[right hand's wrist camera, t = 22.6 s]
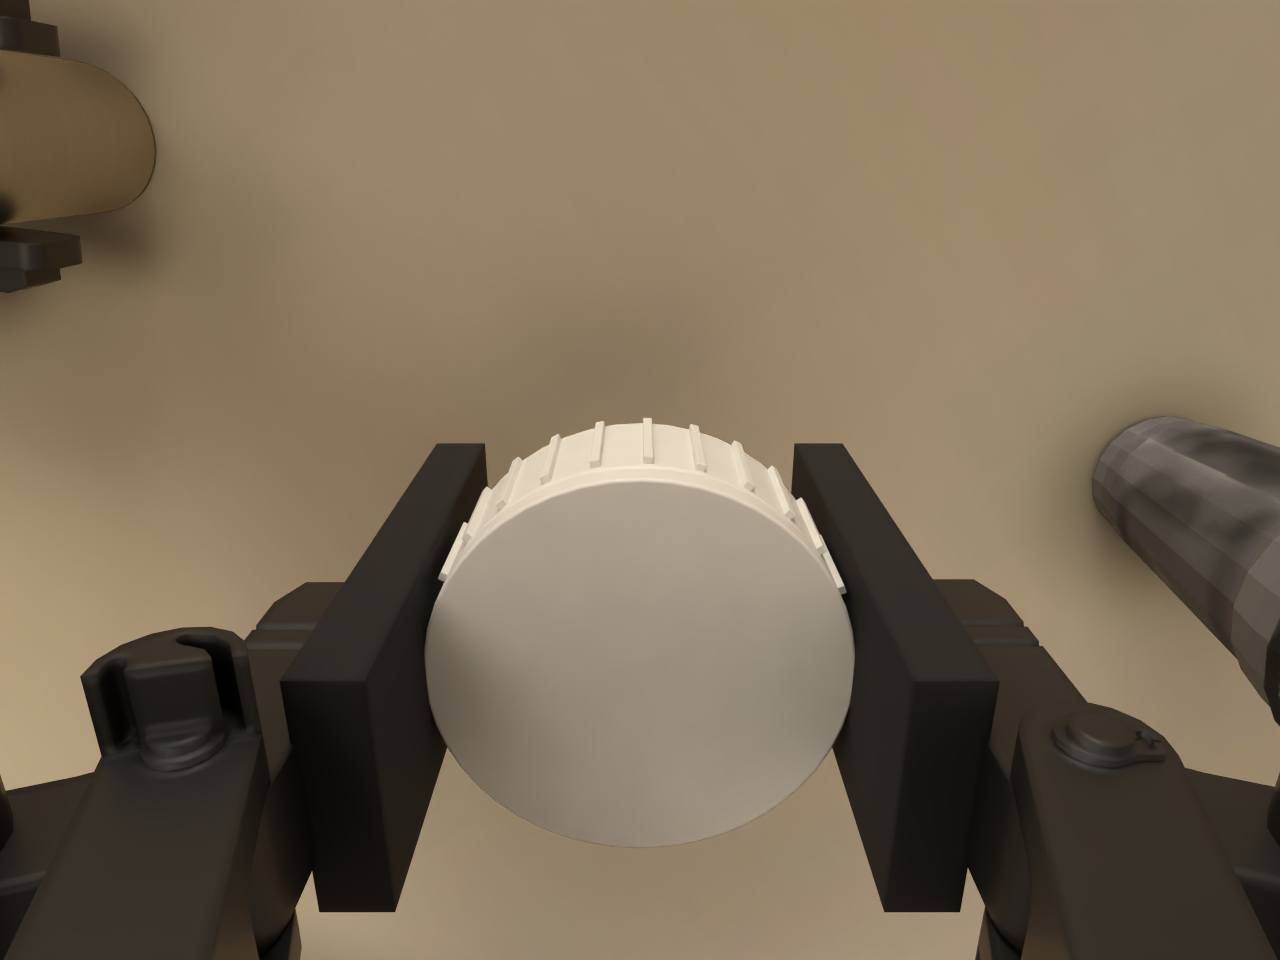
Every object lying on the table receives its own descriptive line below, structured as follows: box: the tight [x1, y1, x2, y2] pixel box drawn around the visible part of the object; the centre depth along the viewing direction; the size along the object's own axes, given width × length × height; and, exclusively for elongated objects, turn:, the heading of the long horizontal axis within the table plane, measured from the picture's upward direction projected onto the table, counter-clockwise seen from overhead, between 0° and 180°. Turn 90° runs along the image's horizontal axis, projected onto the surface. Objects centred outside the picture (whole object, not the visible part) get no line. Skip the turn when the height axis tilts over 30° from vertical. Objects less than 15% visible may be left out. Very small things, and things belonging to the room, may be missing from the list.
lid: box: [424, 418, 855, 848], centre depth 11 cm, size 5×5×2 cm
